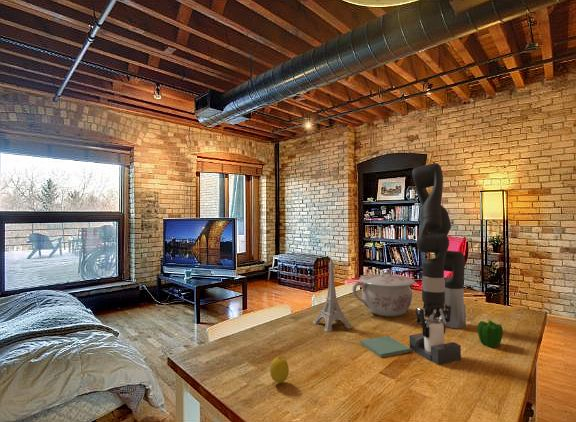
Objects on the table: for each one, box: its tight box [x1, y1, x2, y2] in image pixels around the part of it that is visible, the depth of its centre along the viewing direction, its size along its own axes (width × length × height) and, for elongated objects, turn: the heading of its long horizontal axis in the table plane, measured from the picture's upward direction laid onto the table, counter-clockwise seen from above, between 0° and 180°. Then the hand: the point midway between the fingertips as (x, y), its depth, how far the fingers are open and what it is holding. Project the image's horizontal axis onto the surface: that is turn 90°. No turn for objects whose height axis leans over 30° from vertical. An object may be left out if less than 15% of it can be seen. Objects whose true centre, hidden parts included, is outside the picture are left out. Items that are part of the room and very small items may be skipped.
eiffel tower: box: [312, 258, 354, 333], centre depth 145 cm, size 13×13×30 cm
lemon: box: [269, 356, 290, 385], centre depth 95 cm, size 6×6×8 cm
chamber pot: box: [351, 271, 416, 318], centre depth 162 cm, size 28×28×21 cm
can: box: [424, 318, 445, 353], centre depth 114 cm, size 6×6×12 cm
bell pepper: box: [476, 319, 504, 348], centre depth 122 cm, size 8×8×10 cm
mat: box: [359, 335, 412, 358], centre depth 120 cm, size 13×13×1 cm
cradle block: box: [409, 332, 462, 366], centre depth 114 cm, size 11×14×5 cm
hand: (433, 335), depth 114 cm, fingers closed on can, 6 cm apart
